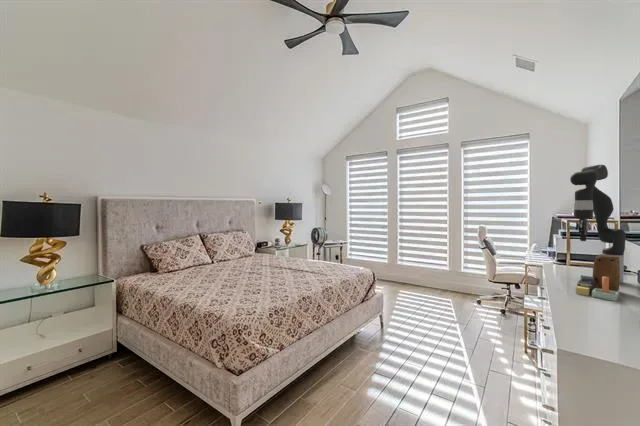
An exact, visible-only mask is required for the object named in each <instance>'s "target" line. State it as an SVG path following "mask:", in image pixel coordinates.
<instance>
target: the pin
mask: <svg viewBox="0 0 640 426" xmlns="http://www.w3.org/2000/svg"><path fill="white" fill-rule="evenodd" d="M602 293H608V294H609V277H602Z"/></svg>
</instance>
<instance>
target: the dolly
mask: <svg viewBox="0 0 640 426" xmlns="http://www.w3.org/2000/svg"><path fill="white" fill-rule="evenodd" d="M577 286H580V287H587V288H590V294H592V291H593V290H594V283H593V276H589V275H583V274H581V275H580V279H579V280H578V281H577V283H576V287H577Z"/></svg>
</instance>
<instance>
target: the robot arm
mask: <svg viewBox="0 0 640 426" xmlns="http://www.w3.org/2000/svg"><path fill="white" fill-rule="evenodd" d="M608 175H609V171H608V168H607V166H606V165H604V164H595V165H590V166H587V167H583V168H581V171H577V172H574V173H572V174H571V175H570V179H569V180H570V184H572V185H574V186H585V188H581V189H576V190H575V192H574V204H573V217H574V218H576V219H577V218H578V219H579V220H578V221H577V230H578V233H579V238H580V239H579V240H580V242H587V234H588V232H589V225H590V222H589V220H588V219H593V218H594V219H595V222H596V223H595V224H596V228H597V234H598V239H599V240H600V242H601V243H605V244H612V246H611V247H607V248H603V249H602V254H603V255H611V256H618V257H619V261H620V283H619V284H624V268H625V266H624V264H625V263H624V262H625V261H624V259H625V258H624V257H625V255H624V253H625V250H626V241H627V240H626V239H627V234H626V232H625V230H623V229H621V228H611V227H610V228H609V227H608V226H609V225H608V221H609V219H610V217H611V215H612V214H613V212H614V204H613V201H612V198H611V197H610V196H609V195H608V194H606V193H605V192H603V191H602V190H600V189H599V188H598V187H597V186H596V183H597V181H602V180H605V179H607V178H608Z"/></svg>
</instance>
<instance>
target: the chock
mask: <svg viewBox="0 0 640 426" xmlns="http://www.w3.org/2000/svg"><path fill="white" fill-rule="evenodd" d="M575 294H578V295H582V296H583V295H585V296H590V294H591V293H590V288H587V287H580V286H577V285H576V286H575Z"/></svg>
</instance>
